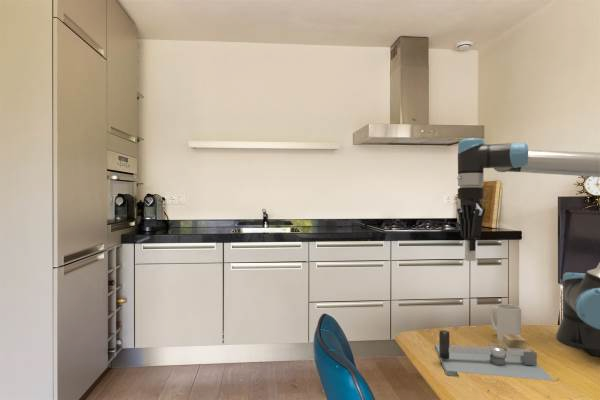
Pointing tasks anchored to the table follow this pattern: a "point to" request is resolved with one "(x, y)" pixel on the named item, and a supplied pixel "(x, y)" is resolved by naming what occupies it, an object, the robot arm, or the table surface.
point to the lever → (484, 350)
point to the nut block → (514, 341)
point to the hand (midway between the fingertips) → (470, 260)
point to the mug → (506, 320)
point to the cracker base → (491, 366)
